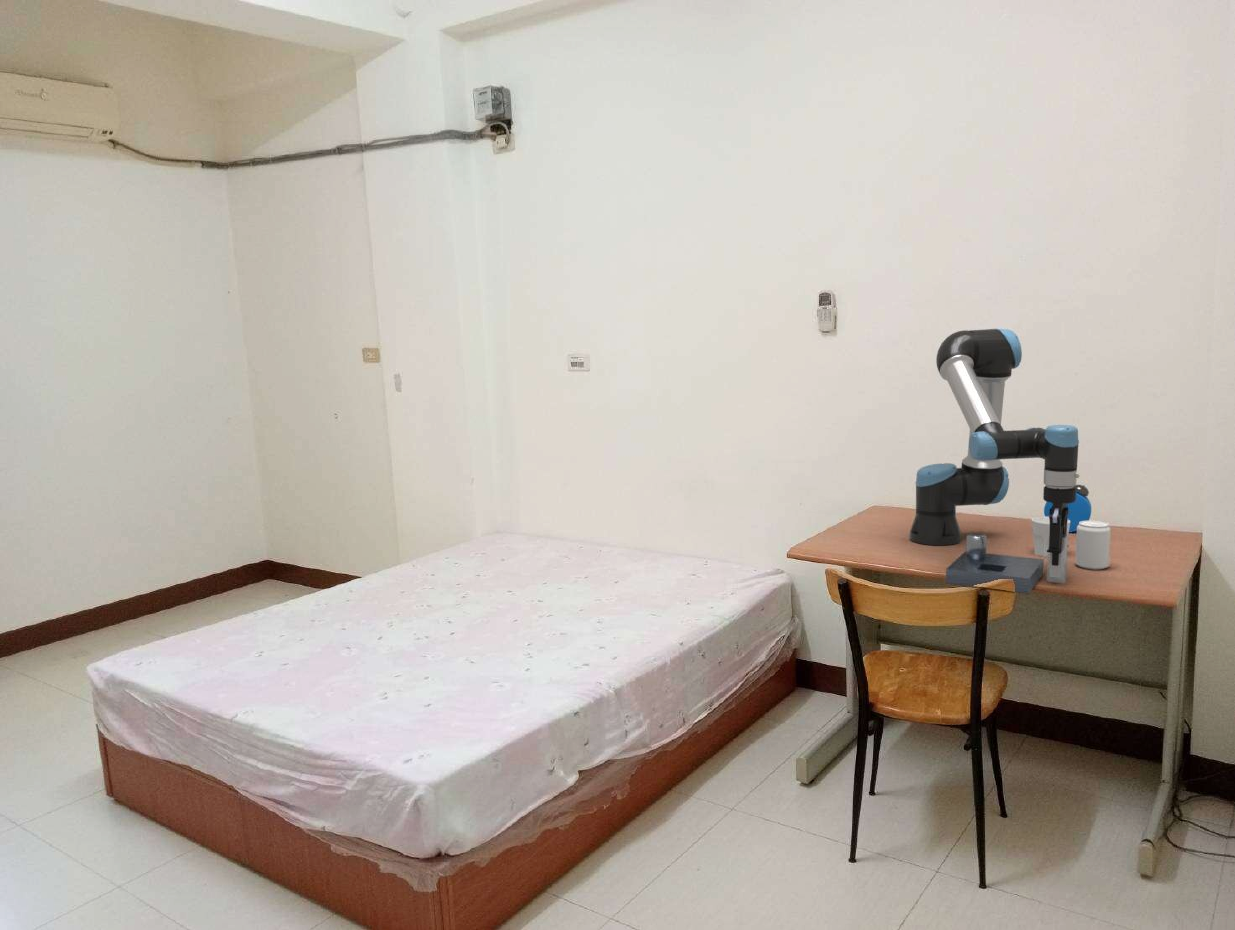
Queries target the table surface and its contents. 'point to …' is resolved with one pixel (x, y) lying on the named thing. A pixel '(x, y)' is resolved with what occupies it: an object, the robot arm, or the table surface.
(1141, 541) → the table surface
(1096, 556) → the beverage can
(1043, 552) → the cup
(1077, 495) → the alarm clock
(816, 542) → the table surface
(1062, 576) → the grey square peg
